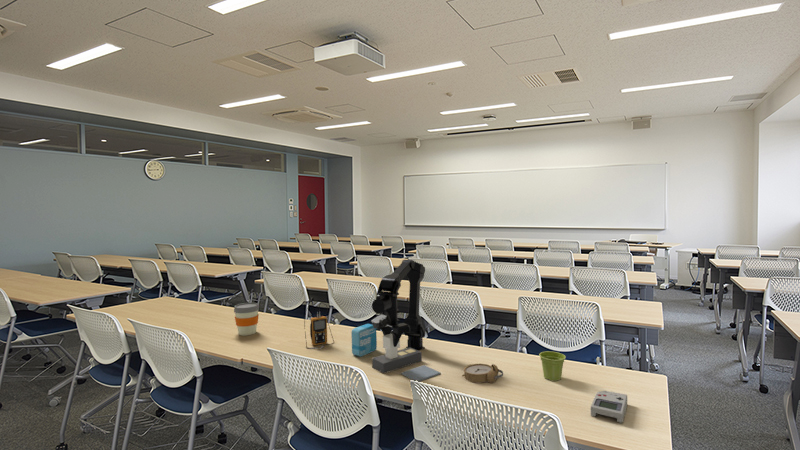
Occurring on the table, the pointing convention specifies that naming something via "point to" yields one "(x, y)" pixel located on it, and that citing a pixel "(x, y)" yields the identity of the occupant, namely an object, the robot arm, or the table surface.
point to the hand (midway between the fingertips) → (391, 345)
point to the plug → (390, 346)
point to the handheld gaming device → (609, 405)
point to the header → (397, 360)
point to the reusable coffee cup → (246, 318)
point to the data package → (364, 340)
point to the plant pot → (552, 364)
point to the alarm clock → (482, 373)
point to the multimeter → (318, 329)
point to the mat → (420, 373)
